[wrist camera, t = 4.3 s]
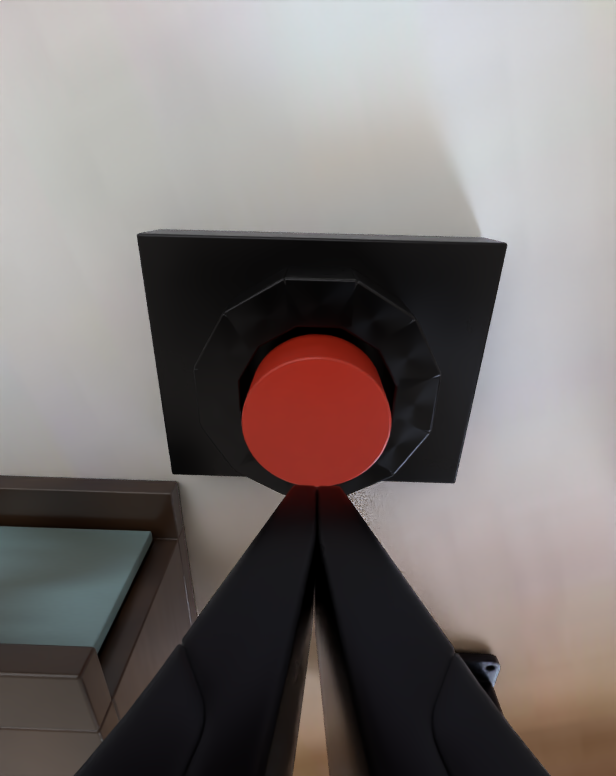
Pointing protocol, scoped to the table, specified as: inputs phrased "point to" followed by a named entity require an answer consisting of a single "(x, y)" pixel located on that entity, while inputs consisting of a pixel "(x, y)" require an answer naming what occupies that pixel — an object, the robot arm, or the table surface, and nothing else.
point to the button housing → (318, 316)
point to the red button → (316, 411)
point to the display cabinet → (84, 611)
